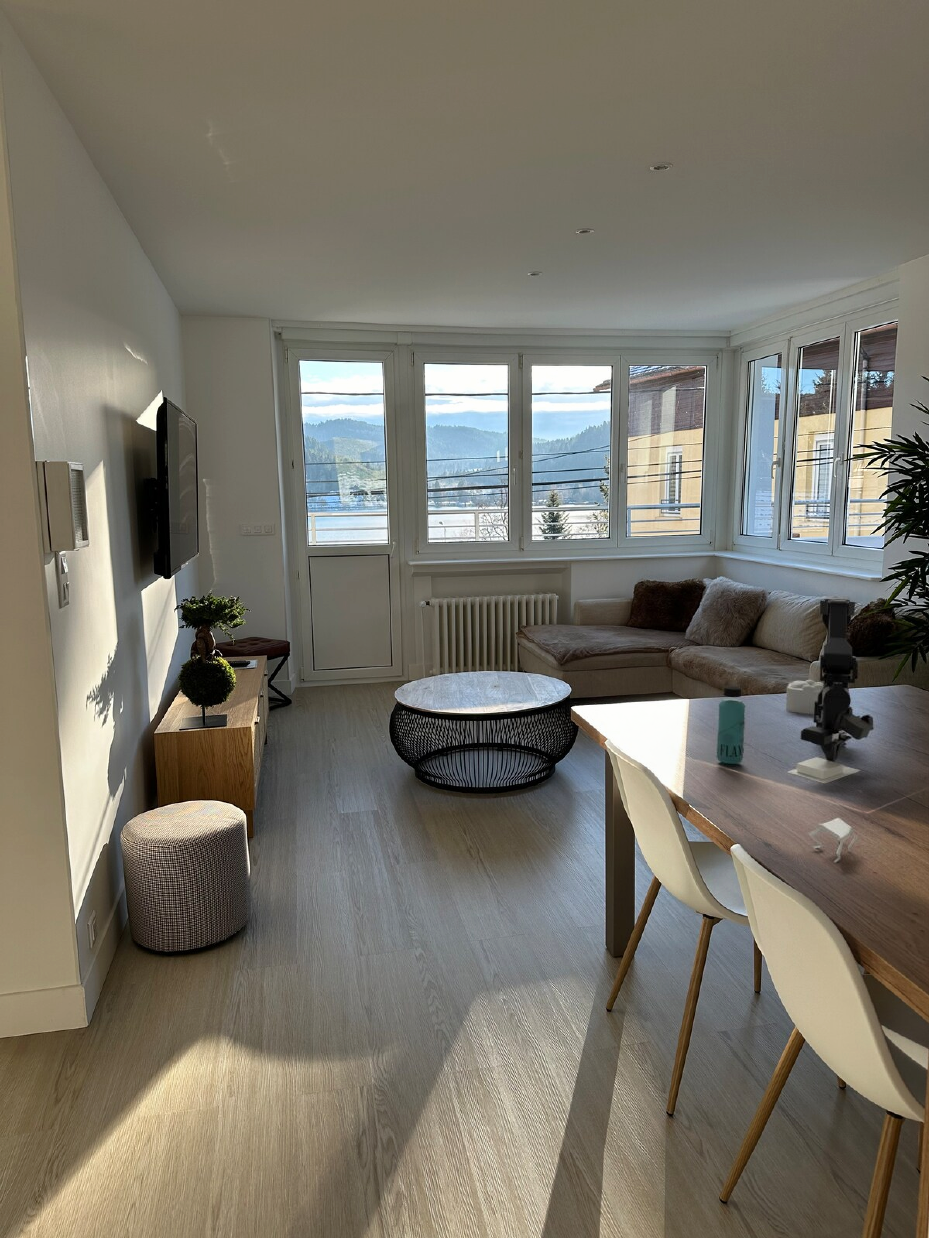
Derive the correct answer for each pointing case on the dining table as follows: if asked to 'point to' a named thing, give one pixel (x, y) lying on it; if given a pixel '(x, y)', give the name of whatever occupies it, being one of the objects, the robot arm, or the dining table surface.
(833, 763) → the rectangular block
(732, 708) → the beverage bottle
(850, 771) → the felt mat
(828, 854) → the dining table surface
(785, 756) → the dining table surface
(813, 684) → the white bumpy block
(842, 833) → the white legged piece
